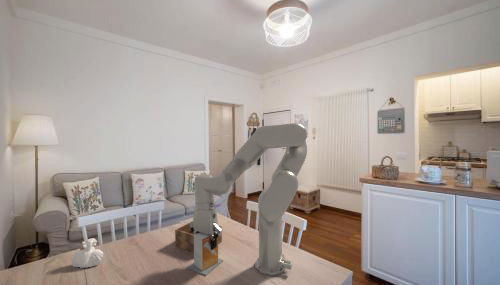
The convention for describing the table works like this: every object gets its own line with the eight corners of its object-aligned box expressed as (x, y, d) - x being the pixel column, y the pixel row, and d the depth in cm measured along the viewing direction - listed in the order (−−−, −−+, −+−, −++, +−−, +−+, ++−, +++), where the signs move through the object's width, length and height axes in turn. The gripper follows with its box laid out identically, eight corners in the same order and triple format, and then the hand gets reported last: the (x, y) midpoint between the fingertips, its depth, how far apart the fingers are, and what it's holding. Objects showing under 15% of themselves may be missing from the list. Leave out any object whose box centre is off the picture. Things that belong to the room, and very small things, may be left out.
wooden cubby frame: (221, 241, 109) (221, 226, 109) (203, 255, 97) (203, 238, 97) (195, 234, 118) (195, 220, 118) (175, 245, 106) (175, 229, 105)
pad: (222, 261, 92) (222, 260, 92) (206, 275, 83) (206, 274, 83) (205, 255, 97) (205, 254, 97) (187, 268, 88) (187, 267, 88)
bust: (104, 267, 92) (111, 239, 99) (96, 265, 86) (104, 235, 93) (73, 270, 91) (83, 241, 97) (63, 268, 84) (74, 237, 91)
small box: (202, 271, 85) (202, 239, 84) (193, 265, 89) (193, 234, 88) (218, 262, 90) (218, 232, 90) (209, 256, 95) (209, 227, 94)
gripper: (226, 205, 88) (227, 246, 89) (195, 199, 97) (196, 237, 97) (215, 210, 82) (216, 255, 82) (182, 204, 90) (183, 245, 91)
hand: (205, 245), depth 90 cm, fingers open, 8 cm apart
